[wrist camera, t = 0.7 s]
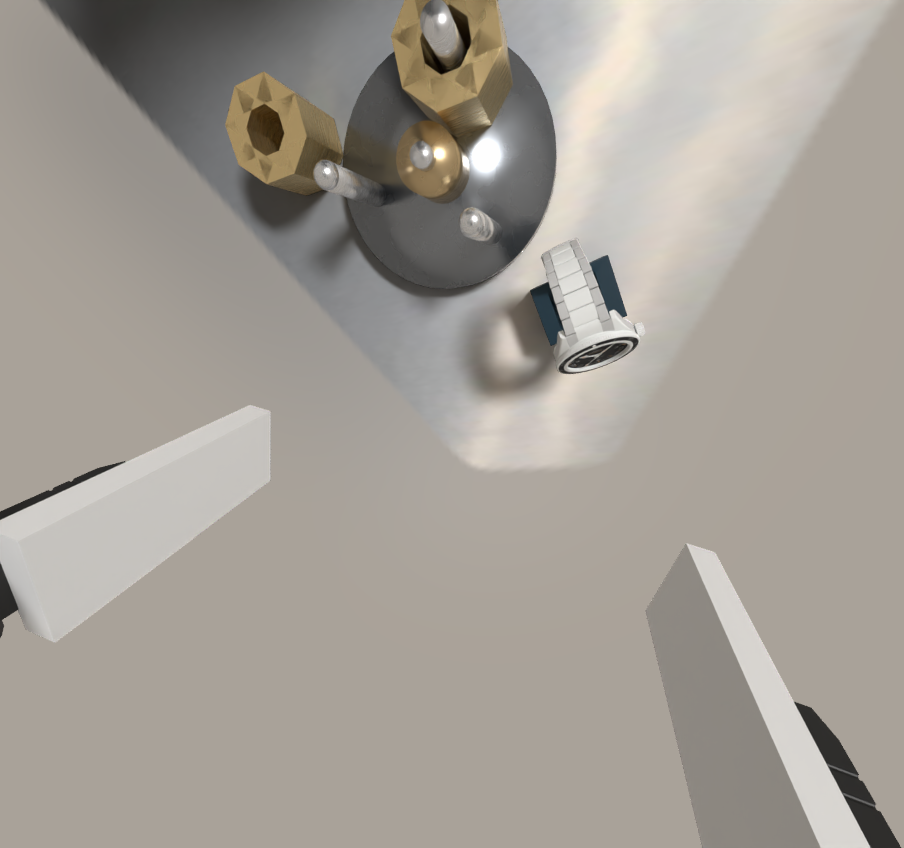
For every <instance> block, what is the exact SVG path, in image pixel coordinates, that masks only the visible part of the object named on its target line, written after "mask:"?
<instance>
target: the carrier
mask: <svg viewBox="0 0 904 848" xmlns="http://www.w3.org/2000/svg"><path fill="white" fill-rule="evenodd" d="M420 27H421V30H422V33H423V34H424V36H425V38H426V40H427V41H428V43H429V45H430V46H431V48H432V50H433V51H434V53H435V55H436V57H437V58H438V60H439V62H440V63H441V65H442V67H443V68H444V70H445V72H446V73H447V72H449V71H452V70H454V69H457V68H459V67H461V65H462V63H463V61H464V58H465V56H466V54H467V50H466V48H465V45H464V43H463V41H462V38H461V36H460V34H459V31H458V29H457V27H456V25H455V22H454V20H453V18H452V15H451V13H450V11H449V8H448V6H447V5H446V3H445V2H444V1H442V0H430V1H429V2H428V3H427V4H426V5H425V6H424V8H423V10H422V12H421V16H420ZM508 53H509V60H510V68H511V75H512V82H513V86H512V87H511V89H510V91H509V93H508V95H507V97H506V99H505V101H504V103H503V105H502V107H501V108H500V110H499V112H498V114H497V116H496V118H495V120H494V122H493V124H492V125H491V126H488V127H486V128H483V129H480V130H477V131H475V132H472V133H469V134H466V135H464V136H461V137H458V138H457V137H455V136H454V135H452V134H451V133H450V132H448V131H447V130H446V129H445V128H444V127H443V126H442V125H440V124H439V123H436V122H434V121H432V120H431V119H430V118H428V117H427V116H426V114H425V113H424V112H423V111H422V110H421V109H420V108H419V107H418V105H417V104H416V103H415V102H414V101H413V100H412V99H411V97H410V96H409V95H408V94H407V93H406V92H405V91H404V90H403V88H402V85H401V80H400V75H399V71H398V66H397V61H396V56H395V52H393V53H392V54H390V55H389V56H388V57H387V58H386V59H385V60H384V61H383V62H382V63H381V64H380V65H379V66H378V68H377V69H376V70H375V72H374V73H373V74H372V75H371V77H370V78H369V79H368V81H367V83H366V84H365V86H364V88H363V90H362V91H361V93H360V95H359V97H358V99H357V102H356V104H355V106H354V109H353V111H352V114H351V118H350V121H349V124H348V128H347V133H346V138H345V145H344V155H343V167H342V166H340V165H338V164H336V163H333V162H331V161H329V160H321V161H319V162H318V163H317V164H316V165H315V167H314V170H313V175H314V179H315V181H316V183H317V185H318V186H319V187H320V188H322V189H324V190H326V191H329V192H332V193H335V194H338V195H341V196H344V197H347V201H348V205H349V208H350V211H351V215H352V218H353V220H354V222H355V225H356V227H357V229H358V231H359V233H360V235H361V236H362V238H363V240H364V242H365V243H366V245H367V246H368V247H369V249H370V250H371V251H372V253H373V254H374V255H375V256H376V257H377V258H378V259H379V260H380V261H381V262H382V263H383V264H384V265H385V266H386V267H387V268H389V269H390V270H391V271H392V272H394V273H395V274H397V275H399V276H400V277H402V278H404V279H406V280H408V281H410V282H413V283H415V284H418V285H422V286H426V287H431V288H439V289H444V288H458V287H464V286H469V285H473V284H476V283H479V282H482V281H484V280H486V279H488V278H490V277H493V276H494V275H496V274H497V273H499V272H500V271H502V270H504V269H505V268H506V267H507V266H509V265H510V264H511V263H512V262H513V261H514V260H516V258H517V257H518V256H519V255H520V254H521V253H522V252H523V251H524V250H525V249H526V247H527V246H528V245H529V243H530V242H531V240H532V239H533V238H534V236H535V234H536V232H537V231H538V229H539V227H540V225H541V224H542V221H543V219H544V217H545V214H546V212H547V209H548V206H549V203H550V200H551V196H552V193H553V187H554V181H555V176H556V159H557V158H556V140H555V131H554V125H553V119H552V115H551V112H550V109H549V105H548V102H547V99H546V97H545V95H544V93H543V90H542V88H541V86H540V84H539V82H538V81H537V79H536V78H535V76H534V74H533V73H532V71H531V70H530V68H529V67H528V66H527V65H526V64H525V63H524V61H523V60H522V59H521V58H520V57H519V56H518V55H517V54H516V53H515V52H513V51H512V50H511V49H510V48H508Z"/></svg>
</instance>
